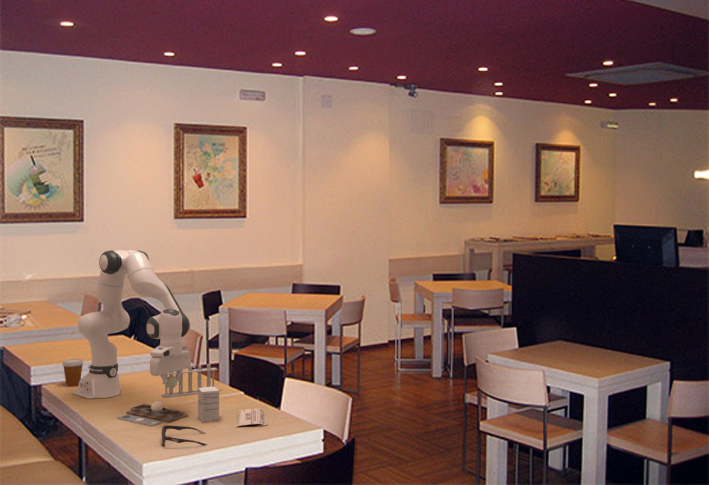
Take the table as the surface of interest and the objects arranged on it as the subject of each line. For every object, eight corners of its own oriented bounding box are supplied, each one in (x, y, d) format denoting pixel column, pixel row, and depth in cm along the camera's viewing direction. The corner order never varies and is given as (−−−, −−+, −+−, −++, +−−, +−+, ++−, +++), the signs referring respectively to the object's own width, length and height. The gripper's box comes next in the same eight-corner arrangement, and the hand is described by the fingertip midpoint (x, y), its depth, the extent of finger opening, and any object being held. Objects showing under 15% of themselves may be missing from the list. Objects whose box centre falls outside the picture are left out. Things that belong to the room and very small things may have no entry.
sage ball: (162, 388, 290) (162, 376, 290) (171, 386, 294) (171, 374, 294) (171, 390, 287) (171, 377, 287) (180, 387, 292) (180, 375, 292)
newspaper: (267, 428, 281) (267, 422, 281) (236, 432, 280) (236, 425, 280) (267, 412, 304) (266, 406, 304) (238, 415, 302) (237, 409, 302)
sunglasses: (160, 435, 269) (162, 422, 269) (205, 438, 273) (206, 425, 273) (159, 449, 253) (161, 436, 253) (206, 452, 257) (208, 438, 257)
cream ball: (148, 413, 294) (148, 401, 294) (157, 410, 299) (157, 399, 298) (157, 415, 292) (157, 403, 292) (165, 412, 296) (165, 400, 296)
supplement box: (197, 417, 292) (197, 387, 292) (215, 415, 295) (215, 386, 295) (201, 422, 286) (201, 391, 285) (219, 420, 288) (219, 390, 288)
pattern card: (116, 418, 289) (116, 417, 289) (128, 415, 295) (128, 413, 295) (152, 426, 279) (152, 425, 279) (163, 422, 285) (163, 421, 285)
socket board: (126, 413, 297) (126, 408, 297) (146, 407, 306) (146, 402, 306) (169, 422, 284) (169, 417, 284) (188, 416, 294) (188, 411, 294)
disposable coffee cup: (76, 381, 351) (76, 357, 350) (87, 384, 345) (87, 360, 345) (58, 385, 343) (58, 361, 343) (69, 388, 338) (69, 363, 337)
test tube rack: (164, 398, 323) (164, 369, 322) (162, 395, 327) (162, 367, 326) (217, 392, 334) (217, 364, 334) (214, 390, 338) (215, 362, 338)
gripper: (183, 344, 301) (183, 376, 301) (147, 352, 283) (147, 386, 284) (194, 346, 298) (194, 378, 298) (158, 354, 280) (158, 388, 280)
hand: (171, 382), depth 291 cm, fingers closed on sage ball, 5 cm apart
